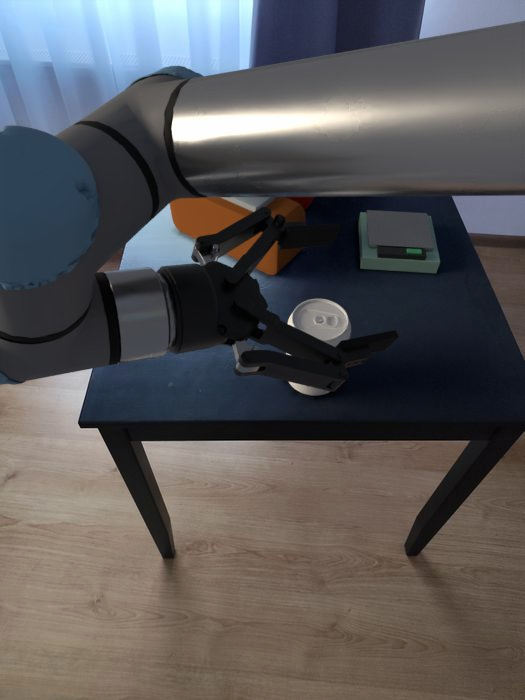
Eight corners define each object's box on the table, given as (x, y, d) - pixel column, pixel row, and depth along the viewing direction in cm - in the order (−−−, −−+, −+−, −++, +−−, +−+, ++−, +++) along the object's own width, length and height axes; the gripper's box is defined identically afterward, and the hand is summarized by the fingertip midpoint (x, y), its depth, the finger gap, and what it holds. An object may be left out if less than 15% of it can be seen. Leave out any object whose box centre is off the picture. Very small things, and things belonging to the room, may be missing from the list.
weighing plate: (433, 251, 82) (434, 248, 81) (368, 247, 82) (368, 244, 82) (426, 215, 88) (427, 213, 87) (366, 212, 88) (366, 209, 88)
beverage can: (288, 350, 72) (291, 293, 62) (342, 355, 71) (353, 298, 62) (282, 394, 67) (284, 340, 57) (339, 401, 66) (352, 346, 57)
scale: (436, 273, 82) (442, 256, 79) (360, 268, 83) (363, 252, 80) (427, 227, 90) (432, 210, 87) (358, 223, 91) (361, 206, 88)
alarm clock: (303, 254, 86) (307, 198, 77) (276, 279, 81) (278, 224, 72) (201, 207, 94) (195, 153, 86) (173, 229, 90) (163, 174, 81)
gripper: (123, 229, 48) (301, 219, 57) (196, 464, 39) (395, 406, 48) (129, 170, 42) (328, 170, 51) (218, 432, 33) (441, 373, 42)
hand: (360, 284), depth 50 cm, fingers open, 13 cm apart
